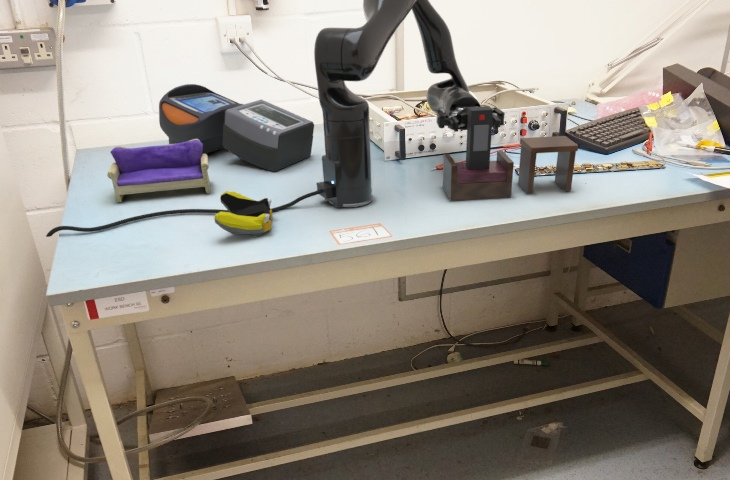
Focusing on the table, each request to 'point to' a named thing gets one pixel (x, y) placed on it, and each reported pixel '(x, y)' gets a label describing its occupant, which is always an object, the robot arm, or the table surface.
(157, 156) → the toy sofa
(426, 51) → the robot arm
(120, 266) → the table surface
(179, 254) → the table surface
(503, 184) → the cushioned bench
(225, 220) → the yellow bananas
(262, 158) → the diagnostic device
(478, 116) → the slim remote
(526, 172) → the walnut shelf
